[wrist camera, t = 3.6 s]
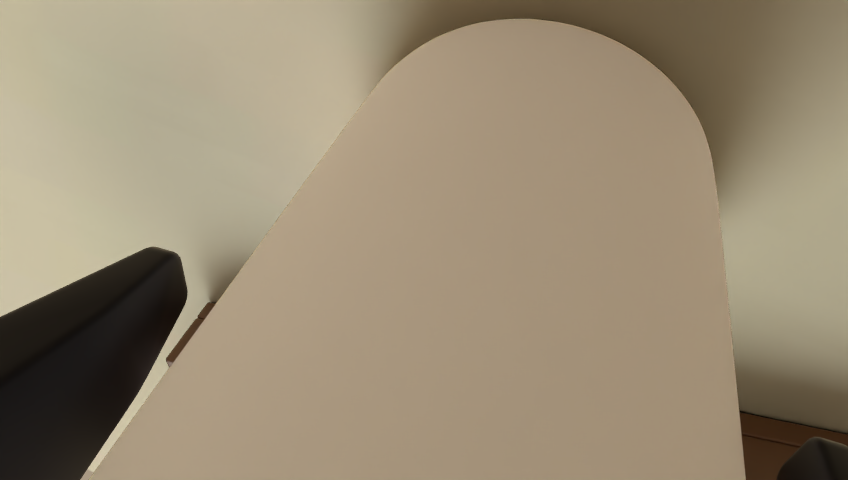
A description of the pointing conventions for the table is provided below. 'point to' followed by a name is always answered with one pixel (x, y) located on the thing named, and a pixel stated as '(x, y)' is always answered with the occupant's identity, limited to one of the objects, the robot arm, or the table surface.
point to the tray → (760, 436)
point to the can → (474, 288)
